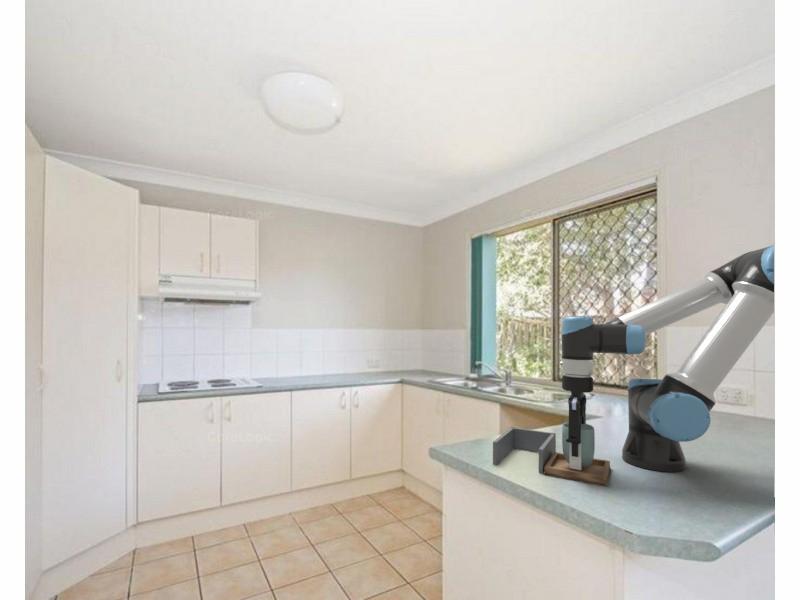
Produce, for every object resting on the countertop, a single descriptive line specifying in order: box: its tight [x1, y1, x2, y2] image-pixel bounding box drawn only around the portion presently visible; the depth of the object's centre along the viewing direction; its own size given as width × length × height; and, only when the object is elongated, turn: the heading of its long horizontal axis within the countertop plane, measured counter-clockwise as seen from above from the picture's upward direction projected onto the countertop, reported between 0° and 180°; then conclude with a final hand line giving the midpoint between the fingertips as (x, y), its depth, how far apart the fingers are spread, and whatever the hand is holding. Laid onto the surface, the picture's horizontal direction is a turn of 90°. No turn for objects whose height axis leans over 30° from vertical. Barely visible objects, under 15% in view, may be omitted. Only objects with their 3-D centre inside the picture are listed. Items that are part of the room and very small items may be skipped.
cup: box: [561, 421, 596, 467], centre depth 108 cm, size 8×8×10 cm
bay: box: [492, 426, 557, 475], centre depth 118 cm, size 13×18×6 cm
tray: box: [543, 452, 611, 487], centre depth 108 cm, size 14×14×2 cm
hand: (577, 463), depth 108 cm, fingers closed on cup, 8 cm apart
